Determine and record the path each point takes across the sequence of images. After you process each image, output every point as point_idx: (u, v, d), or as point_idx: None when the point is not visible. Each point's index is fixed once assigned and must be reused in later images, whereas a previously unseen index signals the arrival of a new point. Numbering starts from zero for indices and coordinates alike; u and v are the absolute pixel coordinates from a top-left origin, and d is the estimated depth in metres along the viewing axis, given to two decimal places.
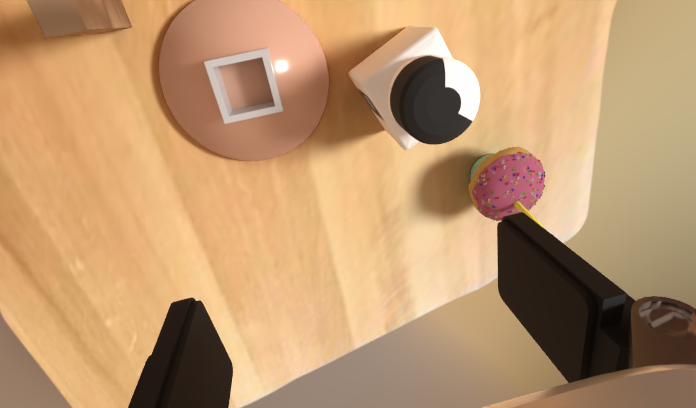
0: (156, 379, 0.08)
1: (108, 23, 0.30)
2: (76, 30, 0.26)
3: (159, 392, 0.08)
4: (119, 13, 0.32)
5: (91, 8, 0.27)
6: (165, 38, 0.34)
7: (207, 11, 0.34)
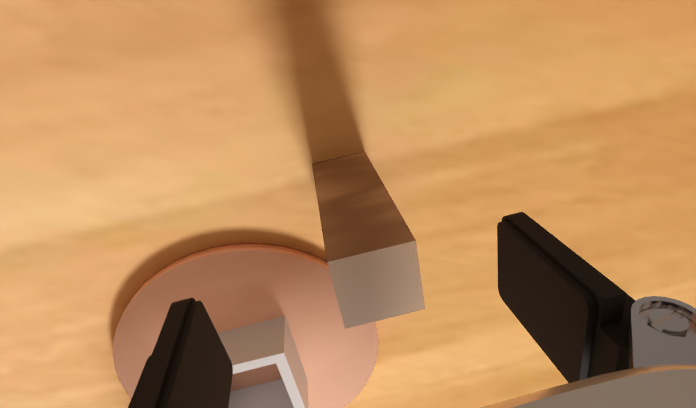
0: (156, 379, 0.08)
1: None
2: (342, 313, 0.12)
3: (159, 392, 0.08)
4: None
5: None
6: (311, 264, 0.21)
7: None
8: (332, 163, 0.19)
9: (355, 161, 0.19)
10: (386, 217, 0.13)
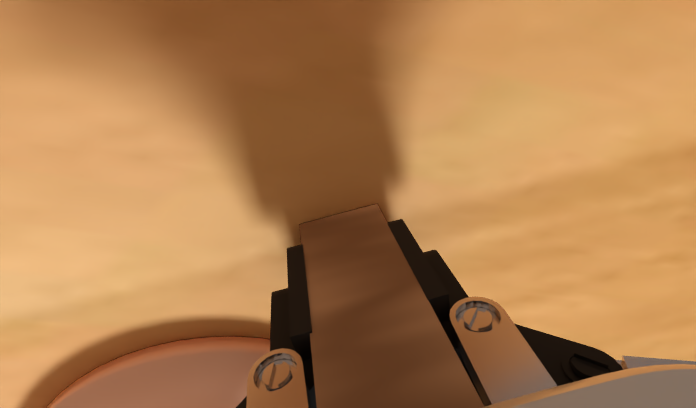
0: (302, 300, 0.09)
1: None
2: None
3: (309, 309, 0.09)
4: None
5: None
6: None
7: None
8: (329, 224, 0.13)
9: (364, 223, 0.12)
10: (441, 383, 0.07)
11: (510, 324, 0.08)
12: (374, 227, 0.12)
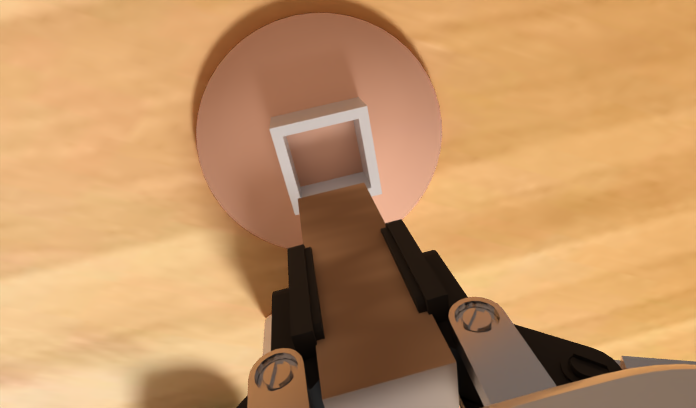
0: (303, 300, 0.09)
1: None
2: None
3: (310, 309, 0.09)
4: None
5: None
6: (388, 34, 0.22)
7: (418, 101, 0.24)
8: (323, 198, 0.15)
9: (353, 197, 0.15)
10: (405, 306, 0.09)
11: (509, 324, 0.08)
12: (361, 201, 0.14)
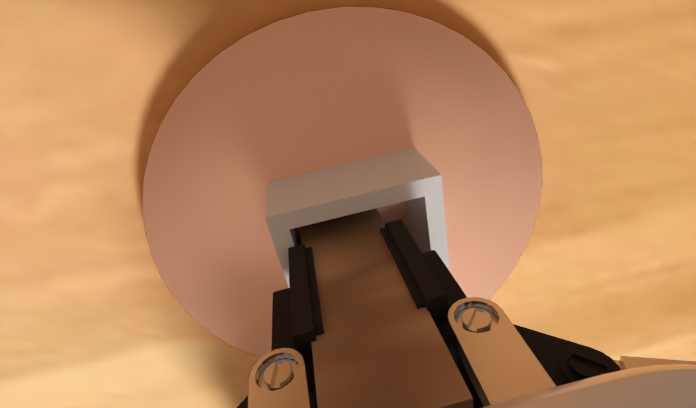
0: (303, 300, 0.09)
1: None
2: None
3: (310, 309, 0.09)
4: None
5: None
6: (472, 44, 0.13)
7: (510, 153, 0.15)
8: None
9: None
10: (414, 331, 0.08)
11: (508, 324, 0.08)
12: (365, 212, 0.13)
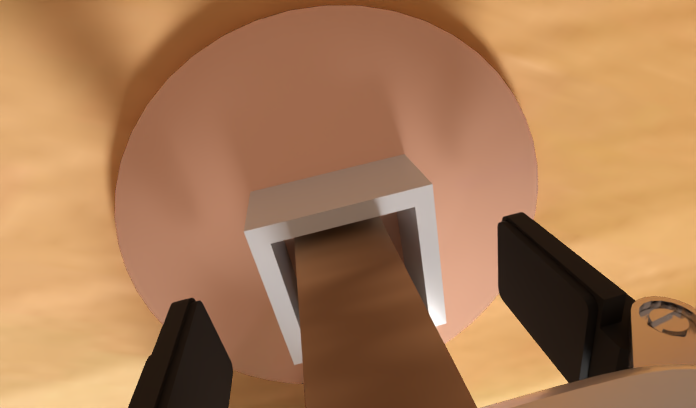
0: (156, 379, 0.08)
1: None
2: None
3: (159, 393, 0.08)
4: None
5: None
6: (464, 45, 0.12)
7: (505, 159, 0.14)
8: None
9: None
10: (415, 342, 0.07)
11: None
12: None
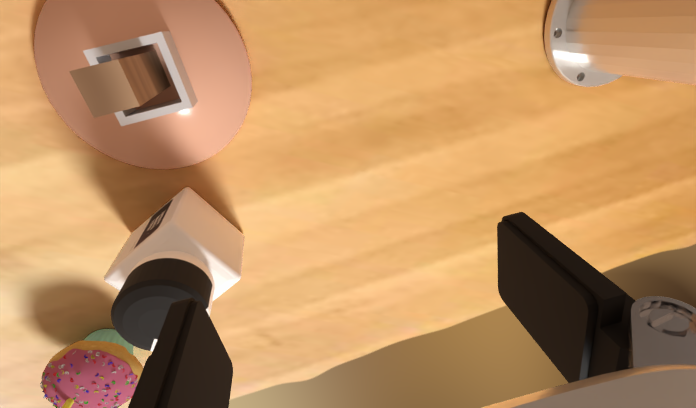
0: (156, 379, 0.08)
1: None
2: (89, 106, 0.23)
3: (158, 393, 0.08)
4: None
5: None
6: None
7: (222, 35, 0.31)
8: None
9: None
10: None
11: None
12: None
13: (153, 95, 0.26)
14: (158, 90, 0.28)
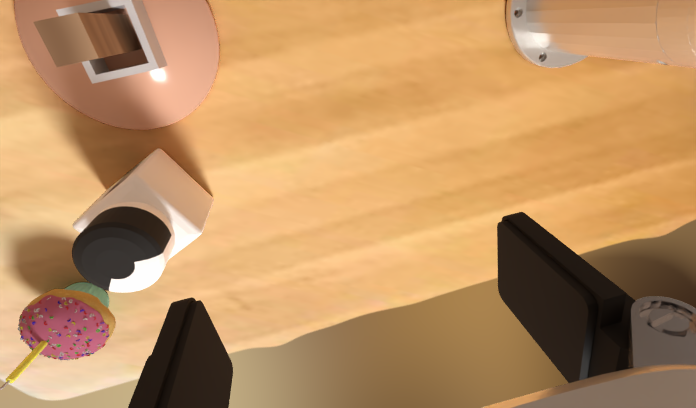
0: (156, 379, 0.08)
1: None
2: (52, 56, 0.25)
3: (158, 393, 0.08)
4: None
5: None
6: None
7: (190, 2, 0.33)
8: None
9: None
10: None
11: None
12: None
13: (117, 52, 0.29)
14: (125, 49, 0.30)
